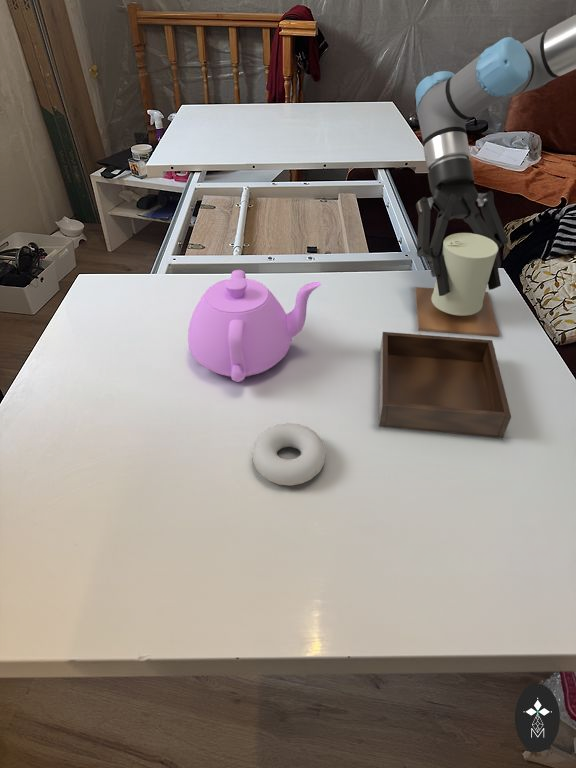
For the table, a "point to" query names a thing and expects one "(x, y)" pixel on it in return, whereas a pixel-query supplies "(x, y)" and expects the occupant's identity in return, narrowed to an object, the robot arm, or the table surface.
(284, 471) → the donut
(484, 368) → the tray
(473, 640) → the table surface
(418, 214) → the robot arm
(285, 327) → the teapot
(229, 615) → the table surface
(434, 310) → the coaster
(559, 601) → the table surface
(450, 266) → the can
